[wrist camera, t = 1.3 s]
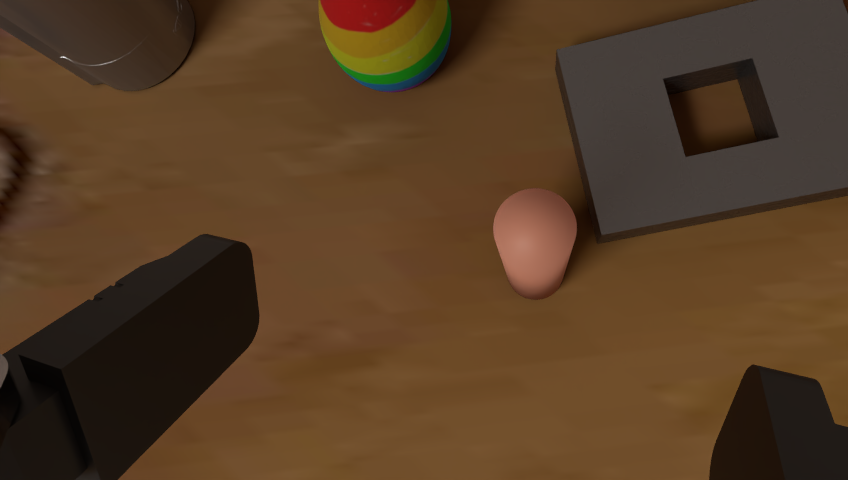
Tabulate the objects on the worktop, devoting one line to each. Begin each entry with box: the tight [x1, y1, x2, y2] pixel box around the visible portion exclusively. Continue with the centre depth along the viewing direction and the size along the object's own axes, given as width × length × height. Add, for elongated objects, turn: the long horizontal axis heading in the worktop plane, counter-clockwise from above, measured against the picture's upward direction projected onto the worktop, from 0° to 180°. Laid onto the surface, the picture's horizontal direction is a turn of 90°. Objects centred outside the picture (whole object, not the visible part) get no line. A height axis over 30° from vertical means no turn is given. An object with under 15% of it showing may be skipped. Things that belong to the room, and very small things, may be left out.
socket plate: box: [555, 0, 848, 244], centre depth 34 cm, size 16×12×2 cm
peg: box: [493, 188, 577, 300], centre depth 29 cm, size 3×3×12 cm
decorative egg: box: [319, 0, 451, 92], centre depth 35 cm, size 8×8×10 cm
